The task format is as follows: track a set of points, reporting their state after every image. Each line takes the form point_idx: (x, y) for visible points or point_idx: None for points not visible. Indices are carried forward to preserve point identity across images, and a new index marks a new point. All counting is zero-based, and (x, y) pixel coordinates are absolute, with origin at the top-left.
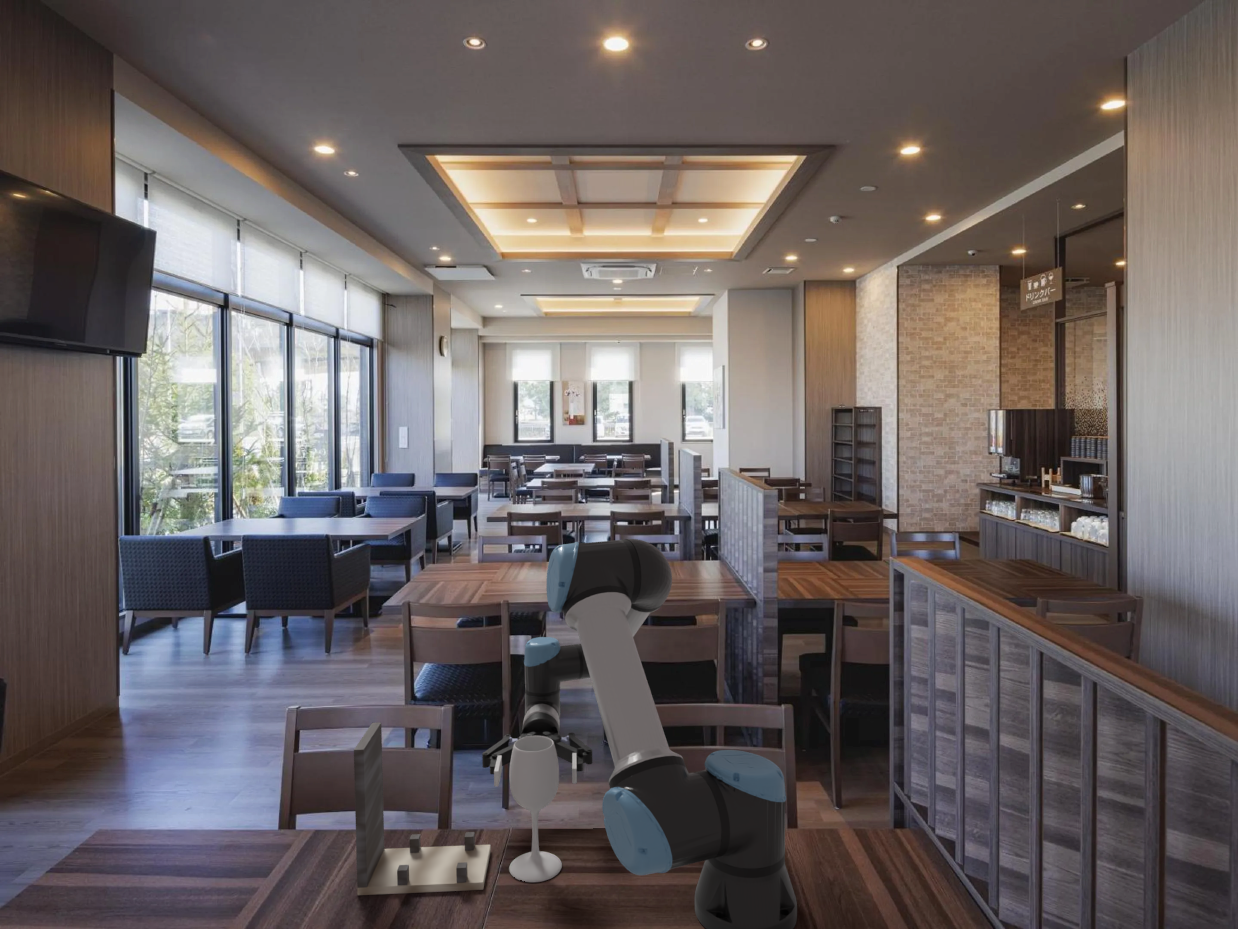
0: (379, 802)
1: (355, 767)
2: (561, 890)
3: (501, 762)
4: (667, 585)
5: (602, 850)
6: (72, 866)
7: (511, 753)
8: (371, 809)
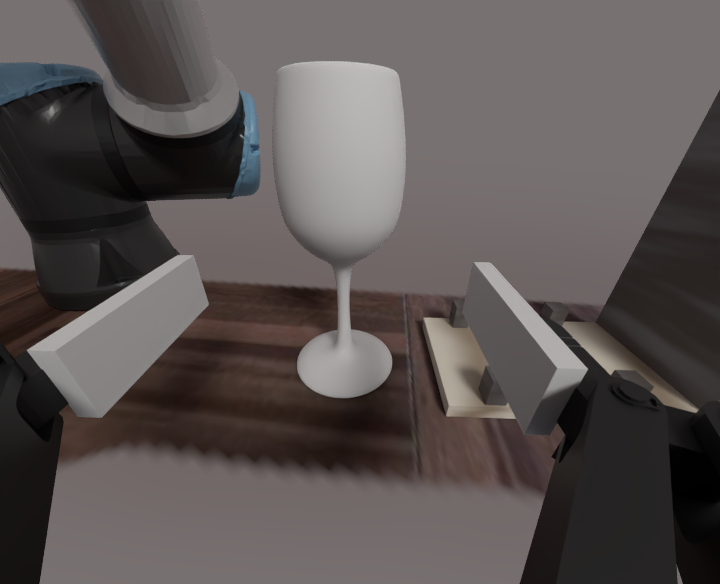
0: None
1: None
2: (311, 318)
3: (528, 370)
4: None
5: (199, 395)
6: None
7: (552, 541)
8: (691, 234)
